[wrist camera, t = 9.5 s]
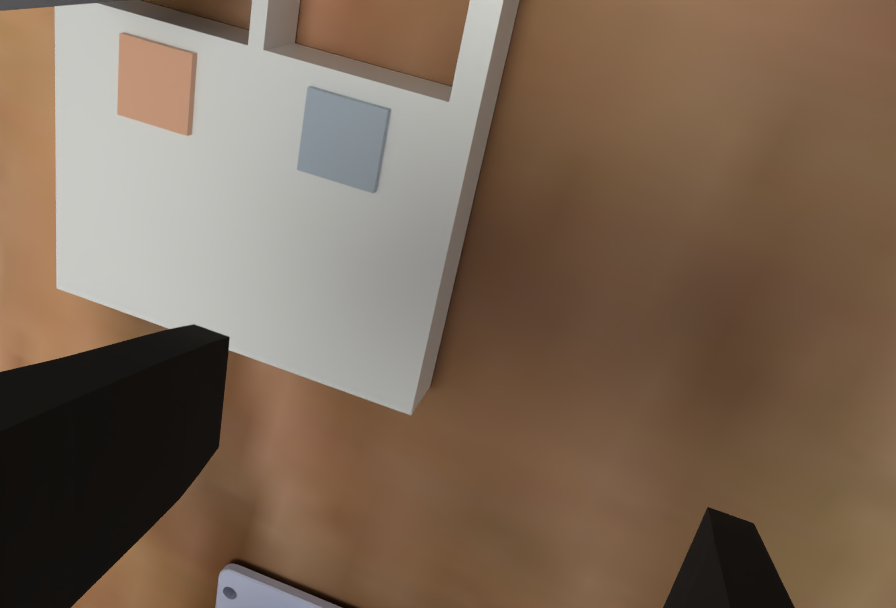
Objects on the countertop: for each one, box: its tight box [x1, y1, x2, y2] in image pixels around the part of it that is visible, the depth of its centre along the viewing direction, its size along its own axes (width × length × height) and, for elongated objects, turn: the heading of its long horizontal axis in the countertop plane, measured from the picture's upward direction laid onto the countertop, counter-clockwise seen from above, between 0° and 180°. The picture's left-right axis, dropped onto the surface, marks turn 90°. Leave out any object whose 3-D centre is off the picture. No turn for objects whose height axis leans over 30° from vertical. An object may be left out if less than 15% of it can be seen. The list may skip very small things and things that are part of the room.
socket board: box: [55, 0, 520, 415], centre depth 20 cm, size 14×11×2 cm
